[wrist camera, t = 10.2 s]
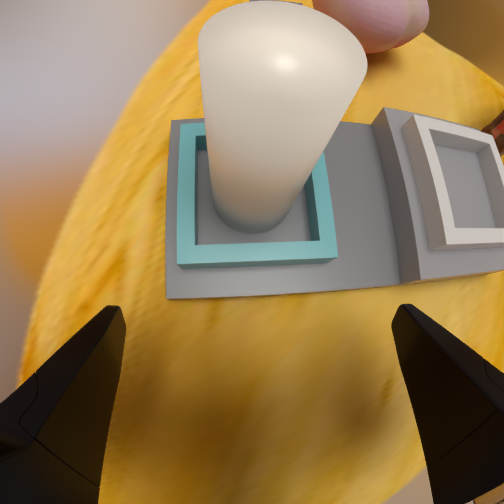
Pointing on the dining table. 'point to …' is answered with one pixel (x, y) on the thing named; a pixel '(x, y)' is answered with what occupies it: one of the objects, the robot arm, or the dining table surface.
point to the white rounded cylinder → (271, 103)
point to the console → (345, 214)
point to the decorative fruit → (378, 20)
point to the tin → (497, 132)
